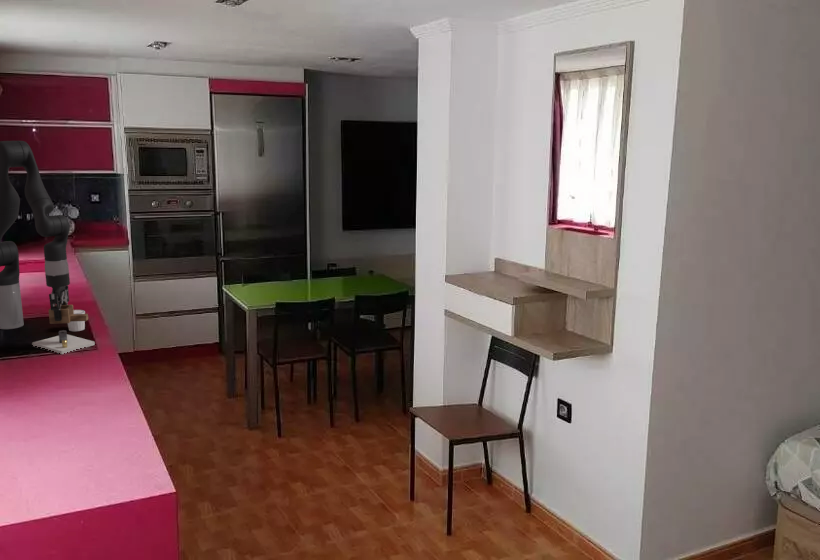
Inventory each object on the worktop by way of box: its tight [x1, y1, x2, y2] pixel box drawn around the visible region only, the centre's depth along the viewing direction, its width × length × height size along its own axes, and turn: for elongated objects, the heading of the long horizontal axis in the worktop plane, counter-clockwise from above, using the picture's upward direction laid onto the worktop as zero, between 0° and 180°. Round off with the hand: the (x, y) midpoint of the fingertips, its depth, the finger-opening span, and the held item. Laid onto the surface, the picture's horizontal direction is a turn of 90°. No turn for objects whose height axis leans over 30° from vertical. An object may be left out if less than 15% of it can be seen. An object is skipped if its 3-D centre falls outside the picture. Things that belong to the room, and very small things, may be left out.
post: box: [58, 329, 67, 343], centre depth 261 cm, size 3×3×4 cm
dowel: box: [62, 340, 67, 348], centre depth 256 cm, size 2×2×2 cm
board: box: [31, 334, 96, 355], centre depth 262 cm, size 17×13×1 cm
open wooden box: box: [48, 304, 89, 325], centre depth 260 cm, size 12×6×5 cm, turn 100°
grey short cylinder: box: [67, 309, 86, 332], centre depth 281 cm, size 7×7×7 cm
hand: (61, 317), depth 260 cm, fingers closed on open wooden box, 6 cm apart
